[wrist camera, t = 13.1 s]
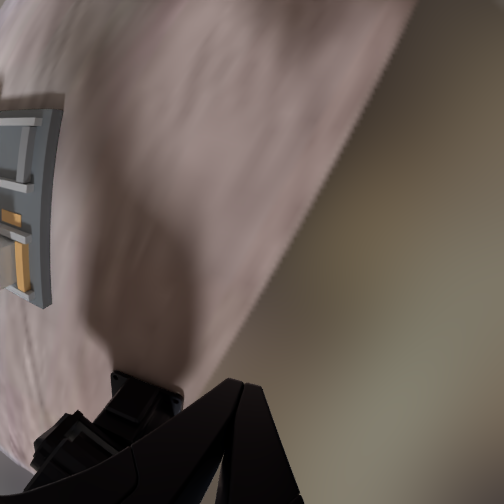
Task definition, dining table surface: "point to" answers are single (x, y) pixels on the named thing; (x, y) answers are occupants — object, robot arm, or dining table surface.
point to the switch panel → (28, 196)
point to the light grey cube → (7, 262)
